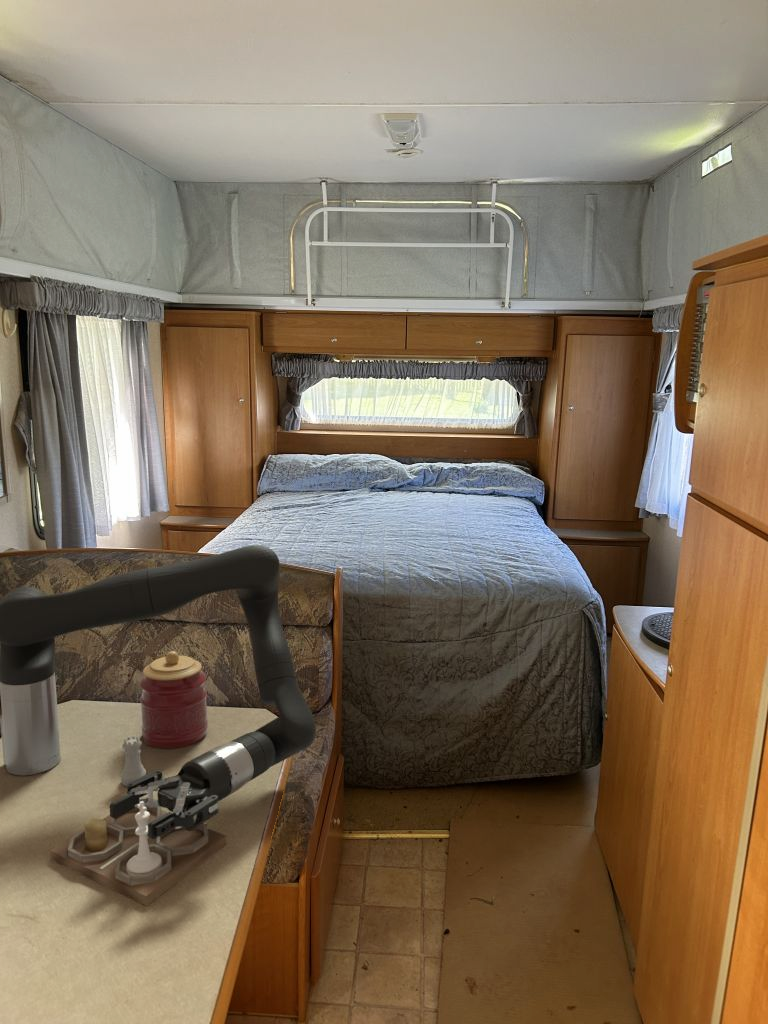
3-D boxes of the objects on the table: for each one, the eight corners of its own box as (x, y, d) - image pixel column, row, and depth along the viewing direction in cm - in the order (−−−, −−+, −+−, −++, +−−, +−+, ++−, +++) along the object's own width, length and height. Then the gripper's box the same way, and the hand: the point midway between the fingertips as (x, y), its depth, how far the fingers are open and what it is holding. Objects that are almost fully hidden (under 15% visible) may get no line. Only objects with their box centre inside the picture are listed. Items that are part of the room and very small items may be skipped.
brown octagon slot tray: (50, 859, 110) (48, 828, 109) (135, 808, 124) (133, 780, 123) (146, 905, 100) (145, 872, 100) (226, 844, 114) (225, 814, 113)
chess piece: (149, 851, 110) (147, 789, 108) (169, 865, 107) (167, 801, 105) (119, 867, 106) (116, 802, 104) (138, 882, 103) (135, 815, 101)
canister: (192, 752, 143) (189, 665, 140) (130, 747, 145) (125, 661, 142) (218, 723, 156) (215, 642, 153) (159, 718, 158) (156, 639, 155)
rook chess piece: (138, 789, 130) (136, 746, 129) (115, 786, 131) (113, 743, 130) (151, 776, 134) (149, 734, 133) (129, 773, 135) (127, 732, 134)
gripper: (186, 739, 120) (97, 781, 107) (249, 764, 112) (162, 813, 99) (187, 782, 121) (100, 829, 108) (250, 810, 113) (164, 865, 100)
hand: (130, 822), depth 103 cm, fingers open, 8 cm apart
